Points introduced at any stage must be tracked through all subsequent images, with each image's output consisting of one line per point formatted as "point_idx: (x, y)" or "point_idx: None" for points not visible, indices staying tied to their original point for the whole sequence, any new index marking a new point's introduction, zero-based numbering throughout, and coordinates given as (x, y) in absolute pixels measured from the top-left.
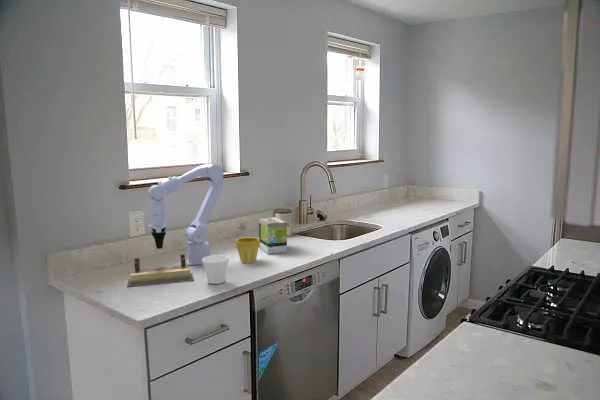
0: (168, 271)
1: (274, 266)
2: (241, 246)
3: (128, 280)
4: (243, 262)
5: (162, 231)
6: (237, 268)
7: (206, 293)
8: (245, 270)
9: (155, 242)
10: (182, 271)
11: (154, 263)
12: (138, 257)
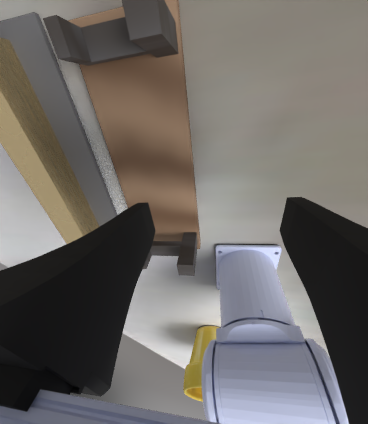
0: (51, 209)
1: (167, 344)
2: (190, 372)
3: (12, 19)
4: (201, 327)
5: (343, 361)
6: (165, 313)
7: (9, 258)
8: (149, 318)
9: (97, 228)
10: (68, 242)
11: (319, 122)
12: (157, 26)
